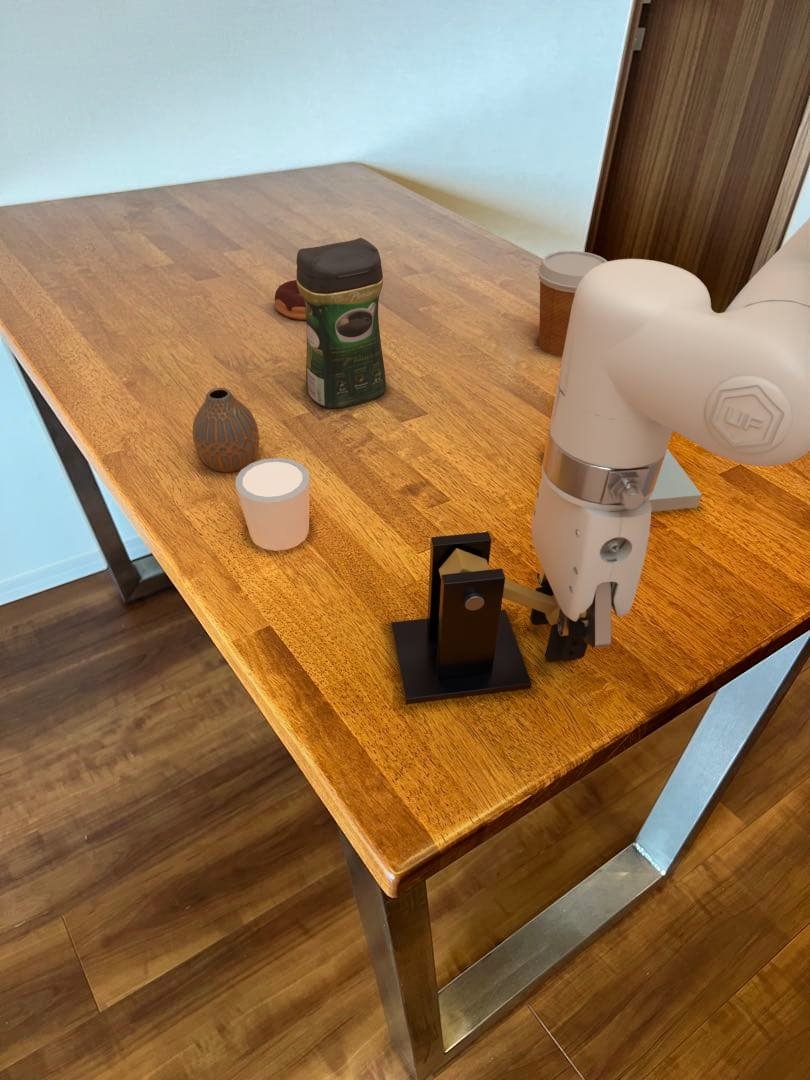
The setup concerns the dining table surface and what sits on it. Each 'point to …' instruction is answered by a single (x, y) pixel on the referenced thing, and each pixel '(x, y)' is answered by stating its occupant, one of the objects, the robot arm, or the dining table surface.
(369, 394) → the coffee jar
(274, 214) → the dining table surface
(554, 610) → the flush lever
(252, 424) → the vase
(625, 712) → the dining table surface
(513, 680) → the lever bracket
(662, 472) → the square base plate
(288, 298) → the donut
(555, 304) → the disposable coffee cup
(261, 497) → the pale pink cup
